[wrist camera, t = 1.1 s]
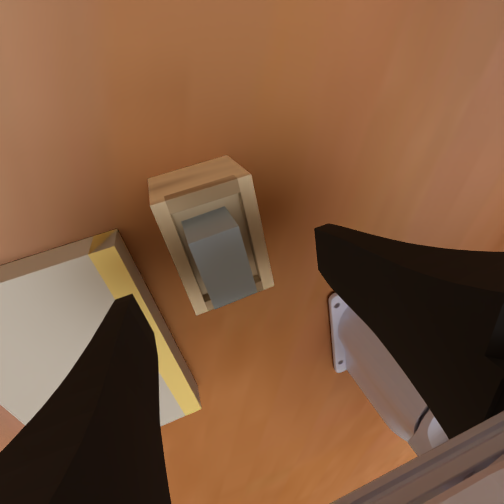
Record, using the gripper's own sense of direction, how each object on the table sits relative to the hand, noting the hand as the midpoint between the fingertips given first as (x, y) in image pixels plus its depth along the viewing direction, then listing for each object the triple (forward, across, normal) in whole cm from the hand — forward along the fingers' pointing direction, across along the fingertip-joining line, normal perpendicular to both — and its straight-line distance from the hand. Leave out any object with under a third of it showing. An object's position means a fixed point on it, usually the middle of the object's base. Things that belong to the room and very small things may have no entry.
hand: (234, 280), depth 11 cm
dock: (+6, +9, +6) cm, 13 cm away
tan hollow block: (+7, 0, 0) cm, 7 cm away
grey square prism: (+3, 0, 0) cm, 3 cm away
